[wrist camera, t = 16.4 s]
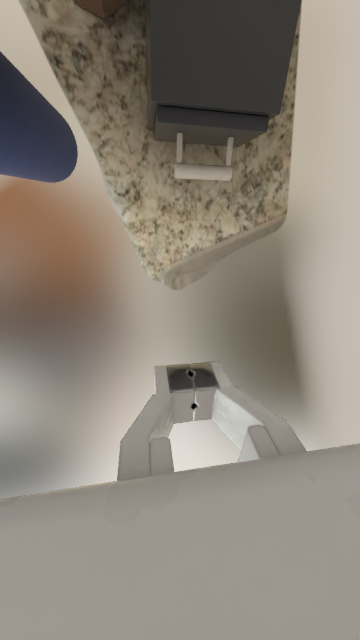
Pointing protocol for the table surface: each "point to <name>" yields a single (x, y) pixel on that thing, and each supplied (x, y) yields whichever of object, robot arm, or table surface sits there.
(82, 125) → the table surface
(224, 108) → the cabinet
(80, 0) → the beer bottle
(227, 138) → the drawer
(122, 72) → the table surface
